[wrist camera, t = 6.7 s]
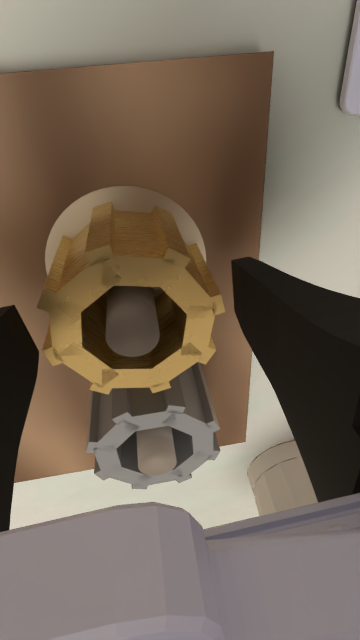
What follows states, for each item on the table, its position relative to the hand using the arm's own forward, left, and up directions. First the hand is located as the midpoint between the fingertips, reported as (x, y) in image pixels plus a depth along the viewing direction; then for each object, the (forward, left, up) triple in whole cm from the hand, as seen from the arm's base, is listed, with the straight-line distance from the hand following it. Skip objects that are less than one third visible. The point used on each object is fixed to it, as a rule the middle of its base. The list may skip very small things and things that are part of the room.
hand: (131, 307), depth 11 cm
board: (+3, +3, -4) cm, 6 cm away
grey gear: (0, +7, -3) cm, 7 cm away
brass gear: (0, 0, -3) cm, 3 cm away
